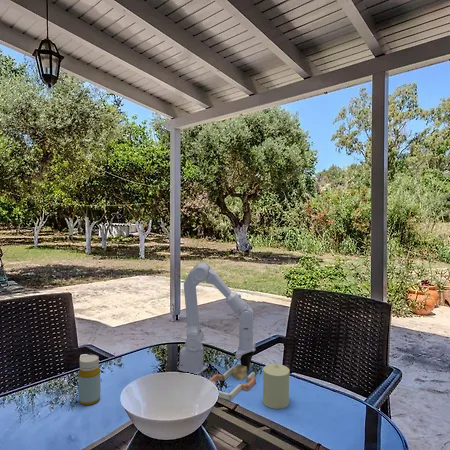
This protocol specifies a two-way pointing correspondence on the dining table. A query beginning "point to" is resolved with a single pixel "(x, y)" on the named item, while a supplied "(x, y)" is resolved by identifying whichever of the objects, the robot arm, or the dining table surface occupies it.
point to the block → (239, 372)
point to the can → (276, 386)
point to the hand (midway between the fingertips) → (245, 369)
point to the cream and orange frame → (240, 387)
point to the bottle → (89, 380)
